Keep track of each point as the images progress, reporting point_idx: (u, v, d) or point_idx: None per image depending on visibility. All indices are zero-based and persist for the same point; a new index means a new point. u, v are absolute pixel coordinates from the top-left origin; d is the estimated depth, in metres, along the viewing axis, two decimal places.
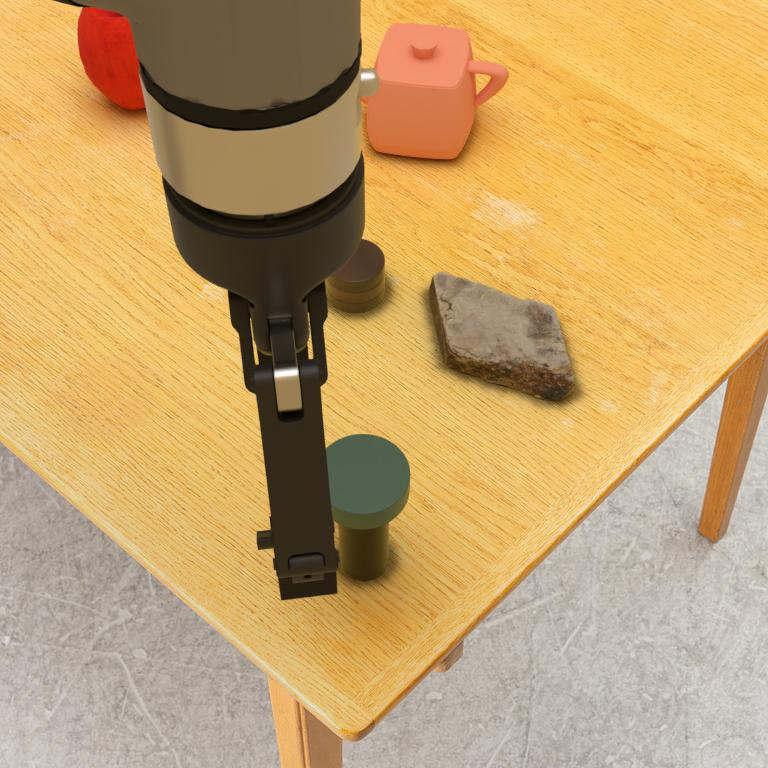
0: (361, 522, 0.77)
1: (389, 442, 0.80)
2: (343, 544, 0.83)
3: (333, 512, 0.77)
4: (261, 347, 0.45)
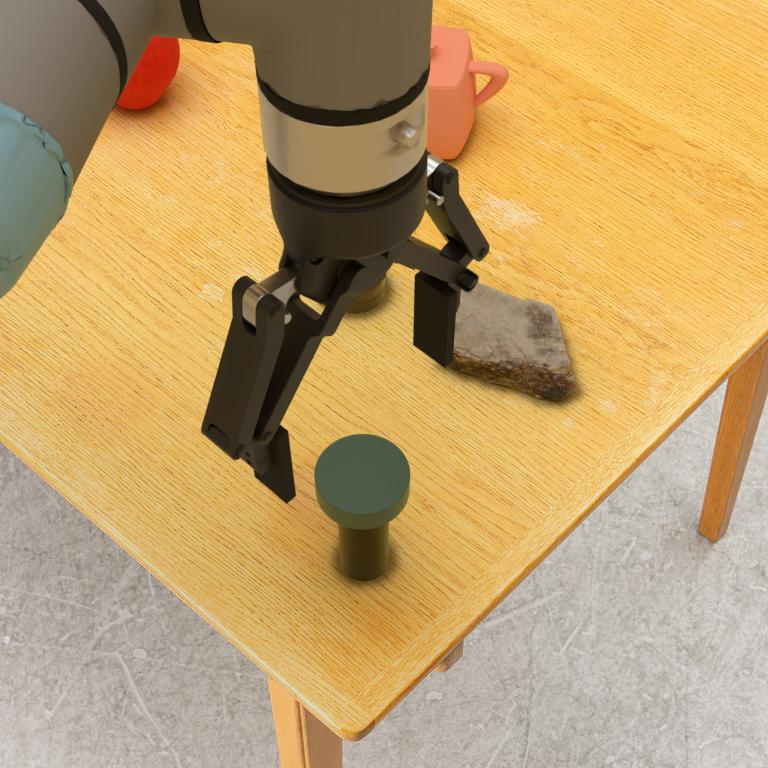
0: (361, 522, 0.77)
1: (389, 442, 0.80)
2: (343, 544, 0.83)
3: (333, 512, 0.77)
4: None
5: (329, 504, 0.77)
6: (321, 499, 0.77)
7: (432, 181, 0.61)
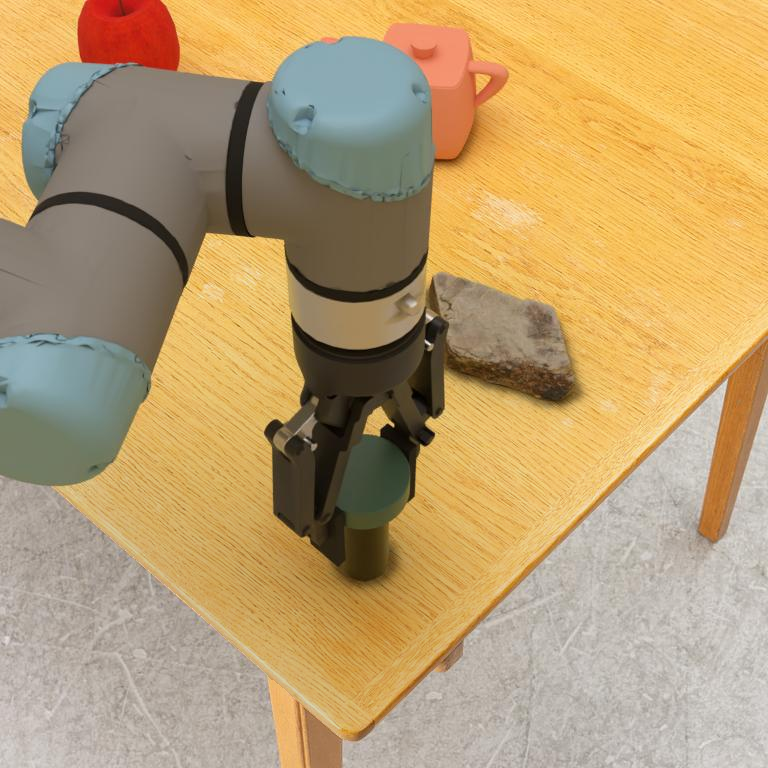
0: (361, 522, 0.77)
1: (389, 442, 0.80)
2: None
3: None
4: None
5: None
6: None
7: (427, 329, 0.72)
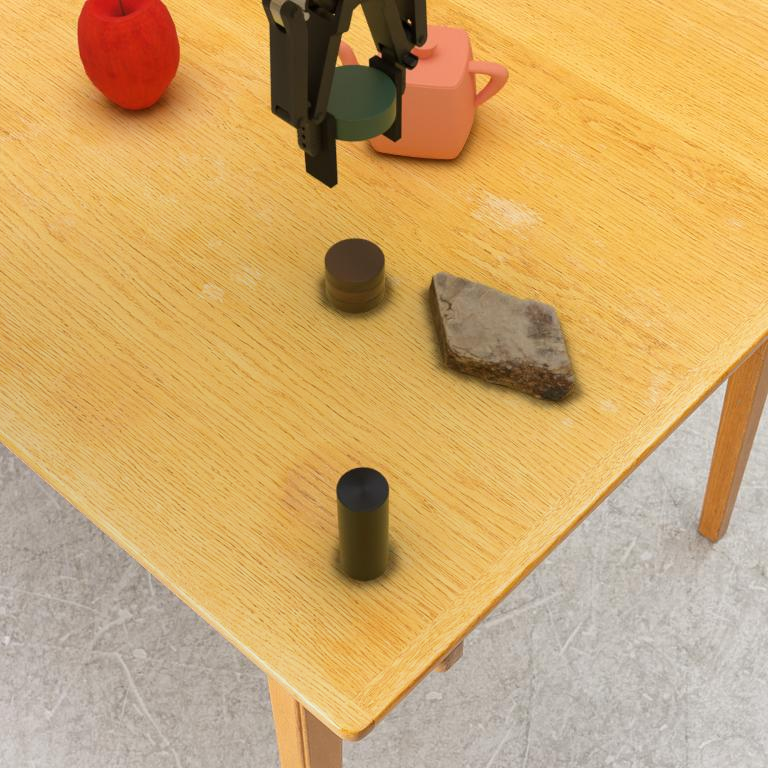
0: (351, 132, 0.85)
1: (377, 70, 0.87)
2: (343, 544, 0.83)
3: None
4: None
5: None
6: None
7: None
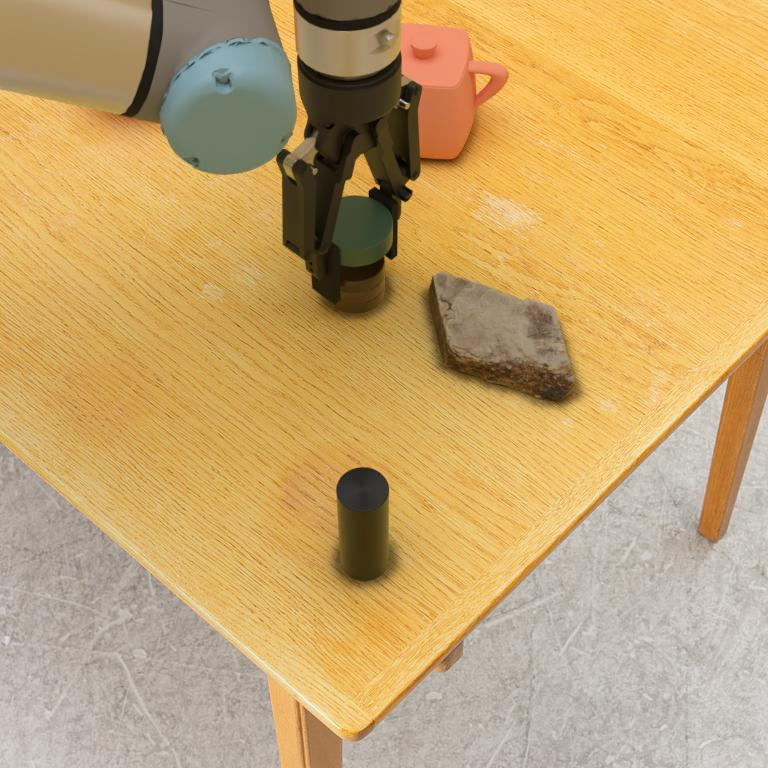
0: (353, 259, 0.96)
1: (376, 201, 0.98)
2: (343, 544, 0.83)
3: None
4: None
5: None
6: None
7: (404, 91, 0.91)
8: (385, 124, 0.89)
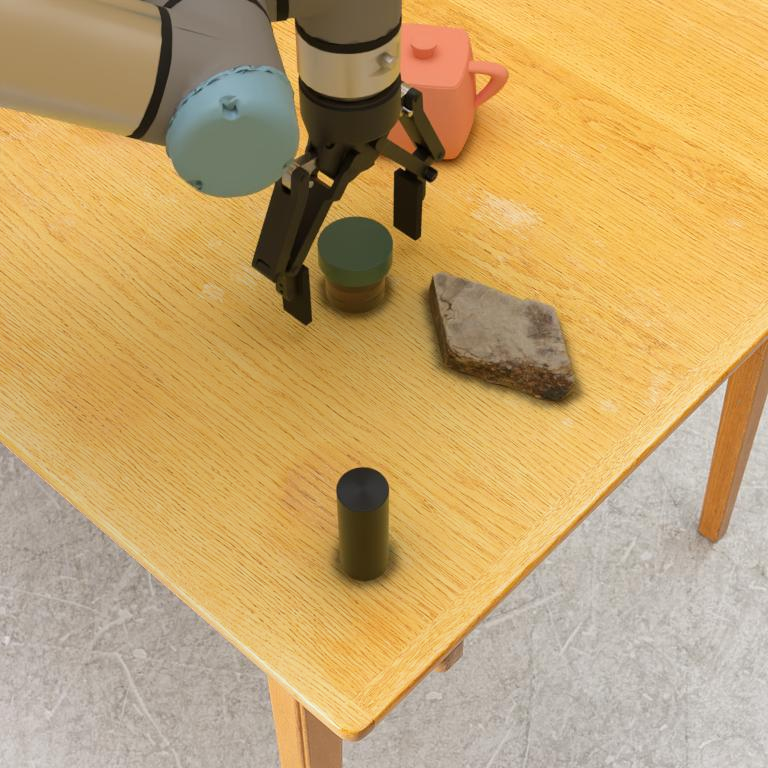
0: (354, 279, 0.98)
1: (376, 222, 1.00)
2: (343, 544, 0.83)
3: (332, 271, 0.98)
4: None
5: (329, 264, 0.98)
6: (322, 262, 0.98)
7: (405, 100, 0.92)
8: (385, 143, 0.90)
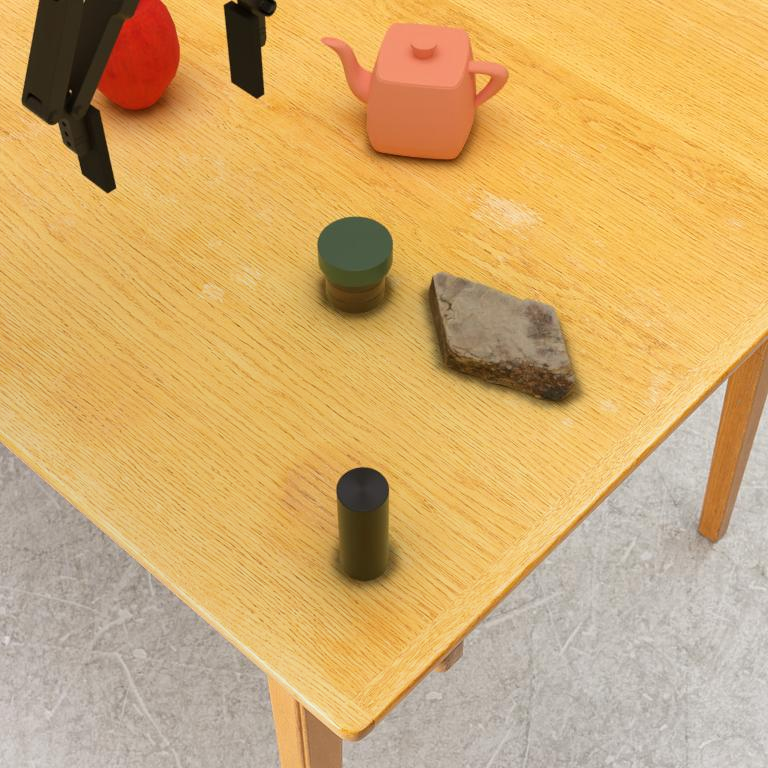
0: (354, 279, 0.98)
1: (376, 222, 1.00)
2: (343, 544, 0.83)
3: (332, 271, 0.98)
4: None
5: (329, 264, 0.98)
6: (322, 262, 0.98)
7: None
8: None
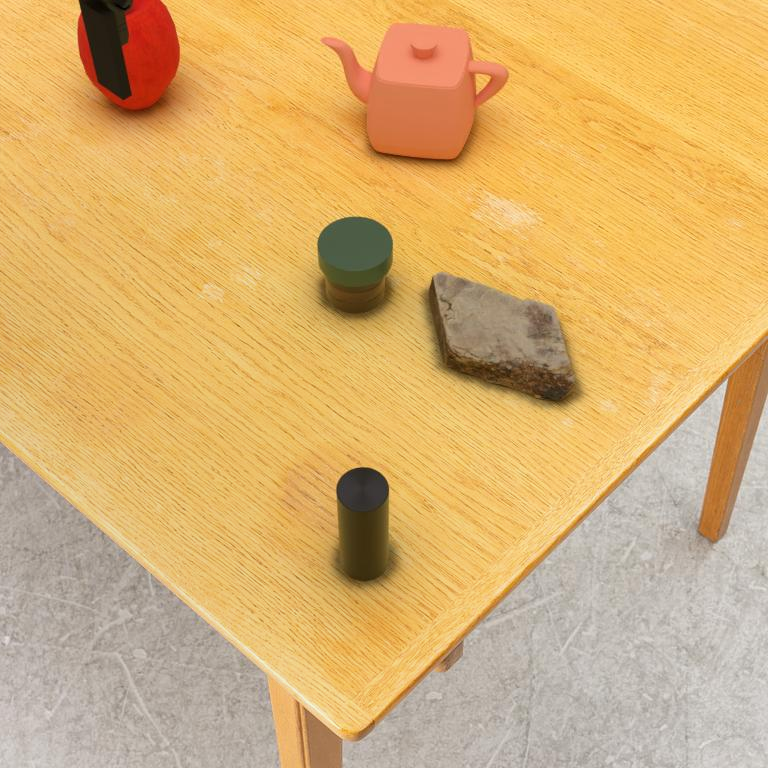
0: (354, 279, 0.98)
1: (376, 222, 1.00)
2: (343, 544, 0.83)
3: (332, 271, 0.98)
4: None
5: (329, 264, 0.98)
6: (322, 262, 0.98)
7: None
8: None
